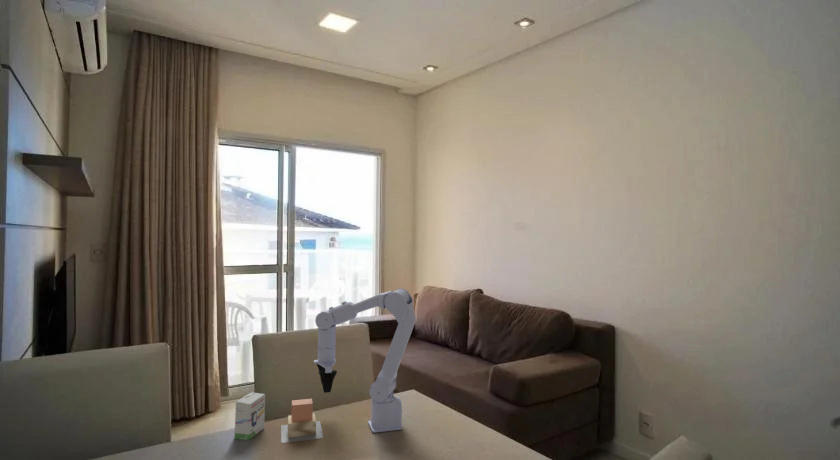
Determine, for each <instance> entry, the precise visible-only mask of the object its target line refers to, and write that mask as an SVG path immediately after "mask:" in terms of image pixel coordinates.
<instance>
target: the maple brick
mask: <svg viewBox="0 0 840 460" xmlns="http://www.w3.org/2000/svg"><path fill="white" fill-rule="evenodd" d="M316 421H317V420H316V414H315V412H313V415H312V420H308V421H298V422H292V414H289V415H287V424H288V437H296V436H305V435H313V434H316Z"/></svg>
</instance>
